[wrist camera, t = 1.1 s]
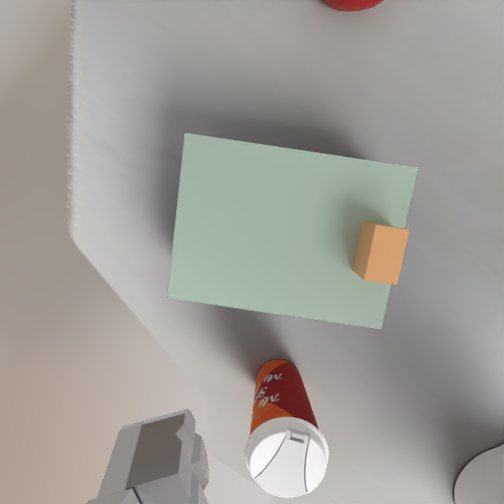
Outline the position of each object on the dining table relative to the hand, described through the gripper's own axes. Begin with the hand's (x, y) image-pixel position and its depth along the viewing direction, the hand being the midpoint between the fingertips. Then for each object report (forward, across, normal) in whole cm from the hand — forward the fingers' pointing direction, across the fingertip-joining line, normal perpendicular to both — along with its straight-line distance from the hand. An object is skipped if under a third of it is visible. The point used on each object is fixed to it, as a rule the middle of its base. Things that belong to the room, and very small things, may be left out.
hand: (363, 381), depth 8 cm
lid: (+26, +3, -4) cm, 27 cm away
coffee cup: (+32, -2, -26) cm, 41 cm away
